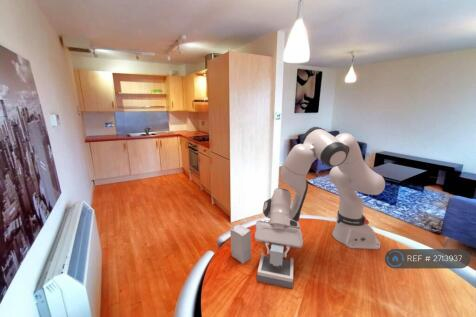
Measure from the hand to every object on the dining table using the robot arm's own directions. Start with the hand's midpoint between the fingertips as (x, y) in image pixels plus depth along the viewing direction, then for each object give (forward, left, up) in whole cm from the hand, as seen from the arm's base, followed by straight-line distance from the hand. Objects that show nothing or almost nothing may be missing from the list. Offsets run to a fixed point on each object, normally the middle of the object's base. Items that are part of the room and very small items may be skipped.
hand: (276, 255), depth 88 cm
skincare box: (+17, -7, -10) cm, 21 cm away
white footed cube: (0, -1, -5) cm, 5 cm away
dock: (0, -1, -9) cm, 9 cm away
